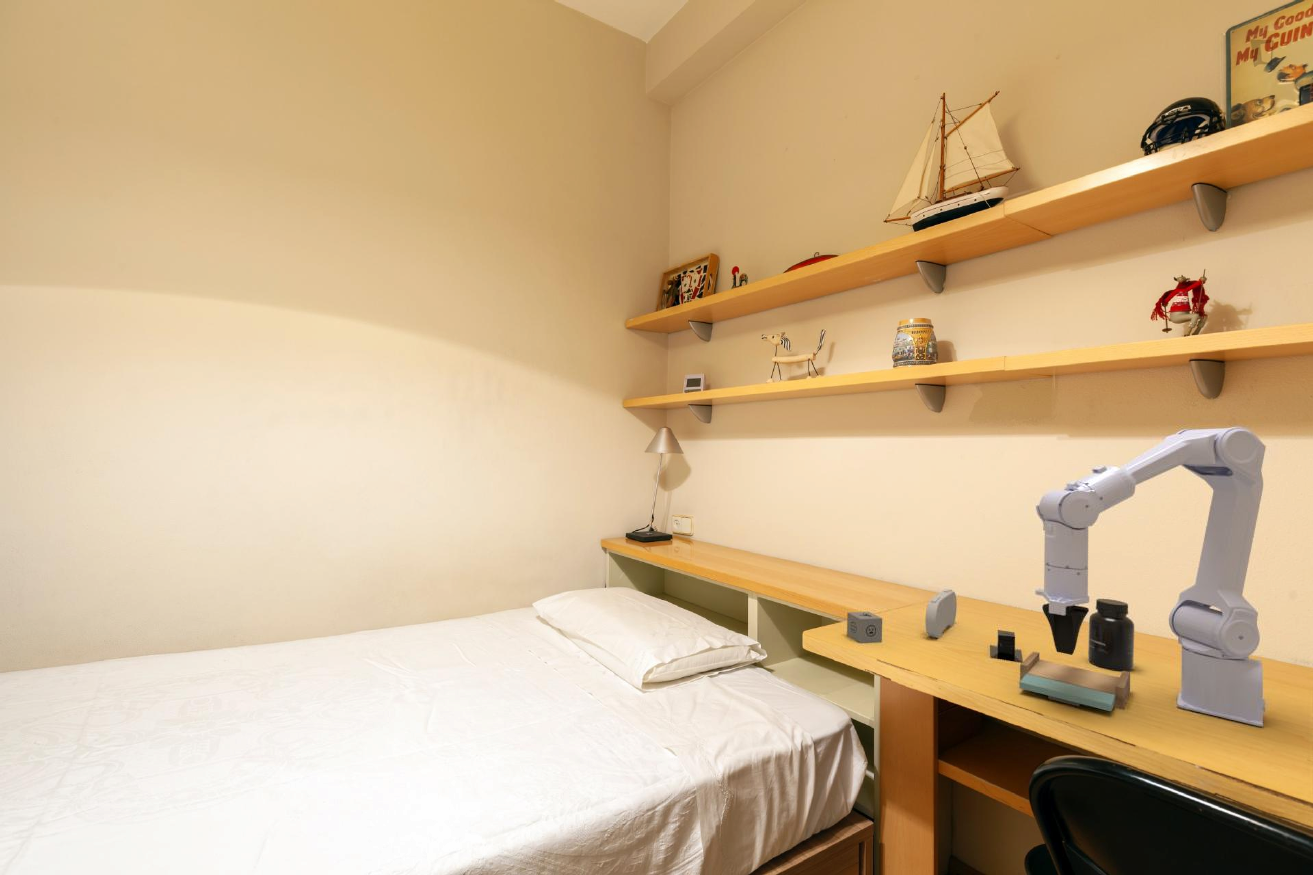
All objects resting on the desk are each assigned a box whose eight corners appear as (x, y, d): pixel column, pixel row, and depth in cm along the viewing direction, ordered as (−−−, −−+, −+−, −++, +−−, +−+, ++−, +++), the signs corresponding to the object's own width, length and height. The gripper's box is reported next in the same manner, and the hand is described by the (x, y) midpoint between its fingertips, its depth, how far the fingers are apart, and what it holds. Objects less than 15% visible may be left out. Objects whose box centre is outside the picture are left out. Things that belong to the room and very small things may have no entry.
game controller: (946, 621, 141) (946, 585, 141) (956, 623, 140) (957, 587, 140) (923, 639, 126) (924, 600, 126) (935, 642, 124) (936, 602, 124)
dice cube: (881, 642, 123) (882, 618, 123) (859, 643, 122) (860, 618, 122) (867, 635, 128) (868, 611, 128) (846, 636, 127) (847, 612, 127)
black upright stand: (1028, 669, 111) (1029, 644, 111) (983, 661, 114) (984, 637, 114) (1025, 651, 122) (1025, 628, 122) (984, 644, 125) (984, 622, 125)
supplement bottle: (1085, 664, 113) (1086, 600, 113) (1090, 656, 118) (1091, 595, 118) (1132, 674, 108) (1132, 608, 108) (1135, 665, 113) (1136, 601, 113)
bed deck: (1130, 691, 100) (1130, 672, 100) (1123, 709, 93) (1123, 688, 93) (1032, 668, 109) (1033, 651, 109) (1019, 683, 102) (1020, 664, 102)
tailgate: (1115, 694, 93) (1111, 704, 89) (1115, 704, 93) (1111, 715, 89) (1026, 673, 101) (1019, 681, 98) (1026, 683, 101) (1019, 691, 98)
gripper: (1045, 557, 103) (1044, 636, 102) (1026, 567, 92) (1025, 656, 92) (1096, 563, 98) (1095, 646, 97) (1081, 575, 87) (1081, 668, 87)
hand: (1065, 652), depth 94 cm, fingers closed
